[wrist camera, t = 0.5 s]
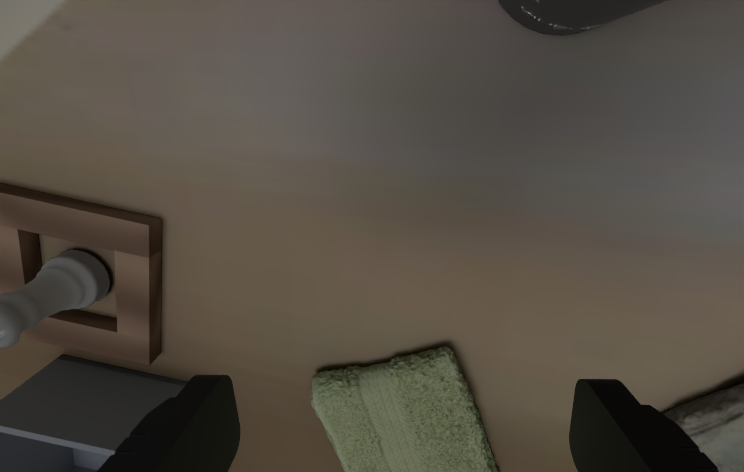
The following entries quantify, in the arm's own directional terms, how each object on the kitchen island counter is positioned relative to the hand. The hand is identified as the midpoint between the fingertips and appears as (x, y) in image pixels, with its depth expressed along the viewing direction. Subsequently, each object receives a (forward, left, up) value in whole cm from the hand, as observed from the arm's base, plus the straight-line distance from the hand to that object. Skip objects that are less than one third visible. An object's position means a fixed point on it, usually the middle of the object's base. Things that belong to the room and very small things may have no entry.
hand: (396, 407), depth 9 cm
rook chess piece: (+11, -22, -18) cm, 31 cm away
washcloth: (+20, +6, -18) cm, 28 cm away
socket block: (+11, -22, -18) cm, 30 cm away
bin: (+26, -18, -18) cm, 36 cm away
